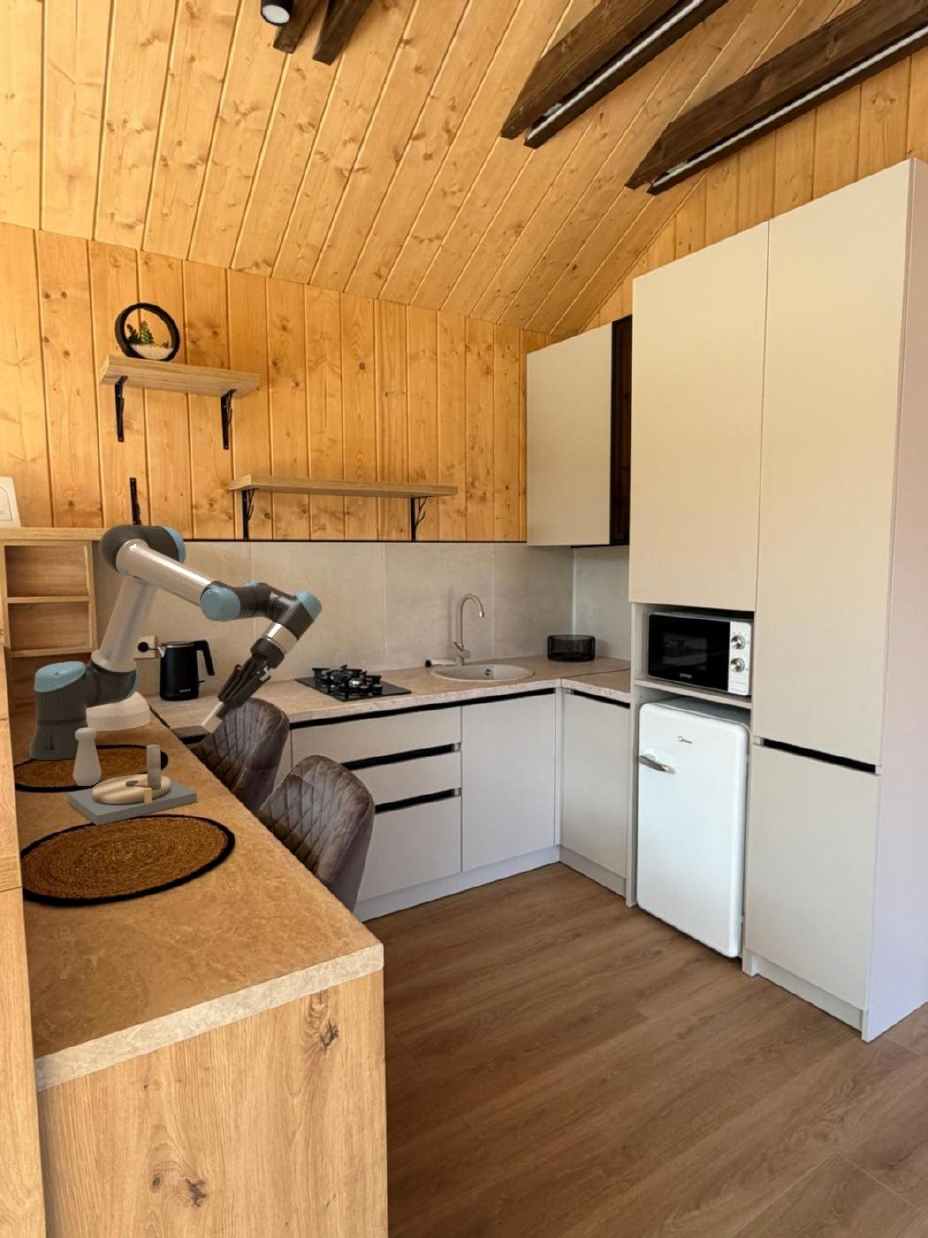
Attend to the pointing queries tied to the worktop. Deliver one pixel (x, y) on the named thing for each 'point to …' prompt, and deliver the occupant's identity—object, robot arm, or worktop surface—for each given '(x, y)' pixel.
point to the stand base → (130, 804)
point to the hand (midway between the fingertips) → (206, 729)
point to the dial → (134, 783)
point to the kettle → (120, 714)
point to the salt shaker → (86, 758)
